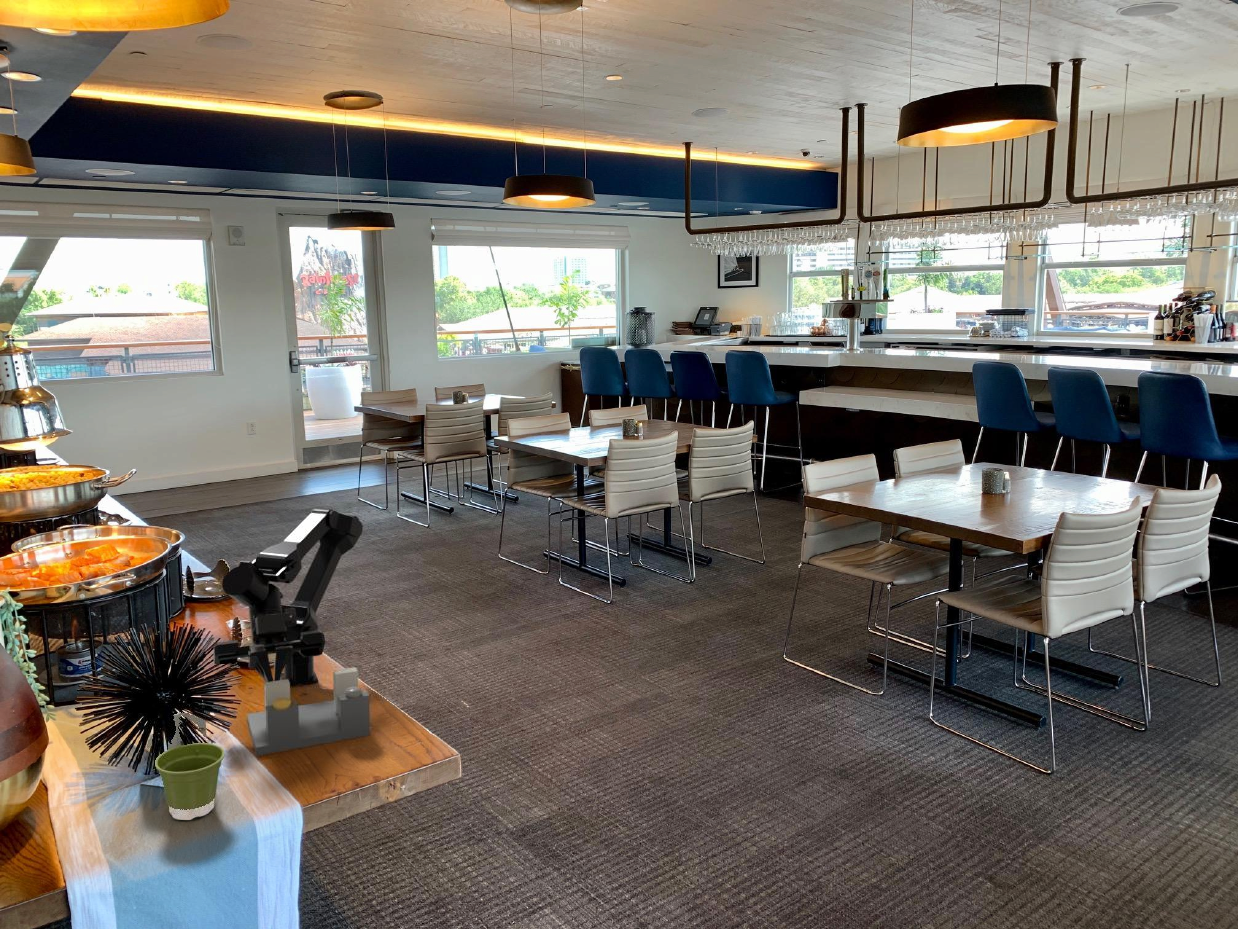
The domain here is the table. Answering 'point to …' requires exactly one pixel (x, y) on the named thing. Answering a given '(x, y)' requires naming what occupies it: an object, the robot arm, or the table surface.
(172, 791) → the plant pot
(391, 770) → the table surface
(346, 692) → the grey holder stand
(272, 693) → the tall white block
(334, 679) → the cream upright block
